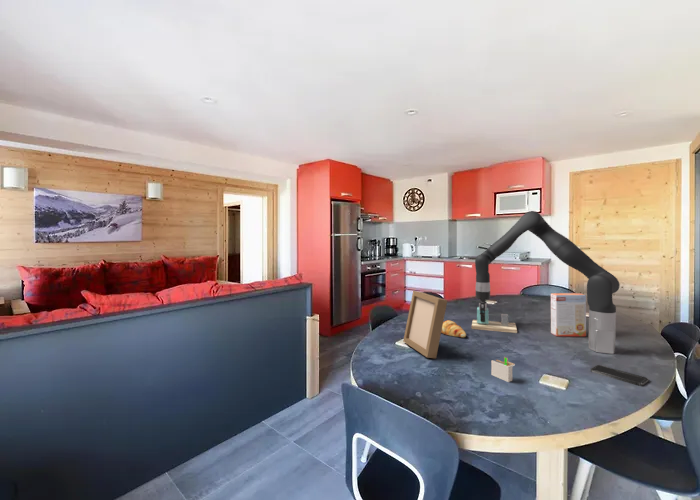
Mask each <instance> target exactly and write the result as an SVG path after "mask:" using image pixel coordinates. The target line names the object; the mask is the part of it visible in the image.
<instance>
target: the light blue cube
mask: <svg viewBox="0 0 700 500" xmlns="http://www.w3.org/2000/svg"><path fill="white" fill-rule="evenodd" d="M481 312H484V311H481ZM489 312H490V311H489V307H486V311H485V322H481V315H480V310H479V306H477V308H476V320H477V323H483V324H488V323H489V321H490V320H489V319H490V318H489V316H490V315H489V314H490V313H489Z"/></svg>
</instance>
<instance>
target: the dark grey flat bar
mask: <svg viewBox="0 0 700 500" xmlns="http://www.w3.org/2000/svg"><path fill="white" fill-rule="evenodd" d="M589 371H590V372H591V373H594V374H597V375H601V376H605V377H608V378H610V379H614V380H617V381H621V382H623V383H624V382H625V383H628V384H631V385H635V386H638V387H643V386H645V385H646V384H648V383H649V381H650V379H649V378H648V377H646V376H642V375H638V374H635V373H631V372H627V371H624V370H620V369H616V368H612V367H609V366H606V365H602V364H601V365H600V364H596V365H595V366H592V367H591V368H590V370H589Z"/></svg>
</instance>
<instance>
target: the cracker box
mask: <svg viewBox="0 0 700 500" xmlns="http://www.w3.org/2000/svg"><path fill="white" fill-rule="evenodd" d="M550 334H552V335H553V336H555V337H586V336H587V294H584V293H582V292H557V293H555V292H554V293H553V292H552V293H550Z"/></svg>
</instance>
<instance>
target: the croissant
mask: <svg viewBox="0 0 700 500" xmlns="http://www.w3.org/2000/svg"><path fill="white" fill-rule="evenodd" d="M441 334H444V335H446V336H451V337H456V338H457V337H459V338H466V337H467V333H466V331H465V330H464V329H463V328H462V327H461V325H458V324H457V323H456V322H455V321H452V320H449V319H447V320H445V321H443V326H442V331H441Z"/></svg>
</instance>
